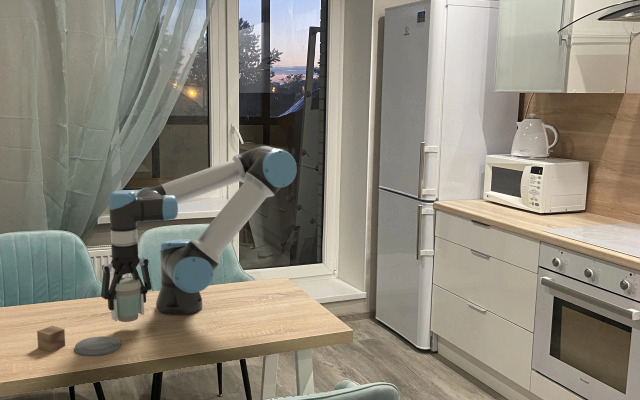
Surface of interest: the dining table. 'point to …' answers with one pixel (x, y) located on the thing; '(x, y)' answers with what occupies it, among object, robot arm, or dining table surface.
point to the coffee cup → (128, 299)
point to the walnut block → (51, 338)
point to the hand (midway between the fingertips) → (128, 316)
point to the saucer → (97, 346)
